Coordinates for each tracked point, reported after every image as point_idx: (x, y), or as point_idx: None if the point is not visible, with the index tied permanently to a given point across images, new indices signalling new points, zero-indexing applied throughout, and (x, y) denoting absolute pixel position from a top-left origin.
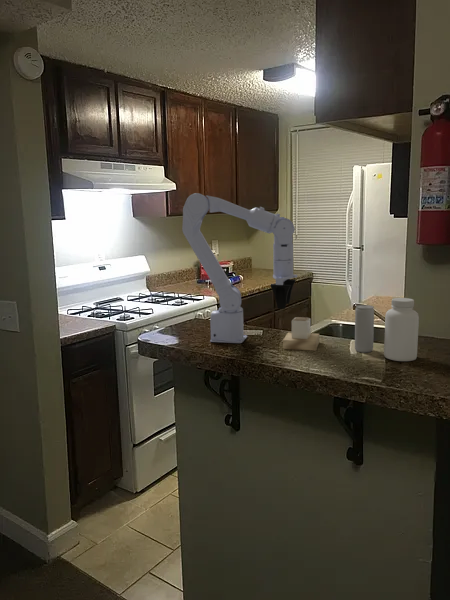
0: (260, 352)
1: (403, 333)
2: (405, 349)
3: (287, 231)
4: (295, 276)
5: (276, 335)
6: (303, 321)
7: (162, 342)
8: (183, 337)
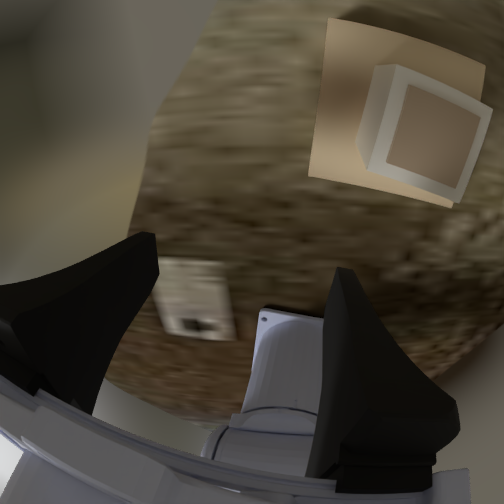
0: (464, 268)
1: None
2: None
3: None
4: (164, 490)
5: (218, 210)
6: (484, 131)
7: None
8: None
